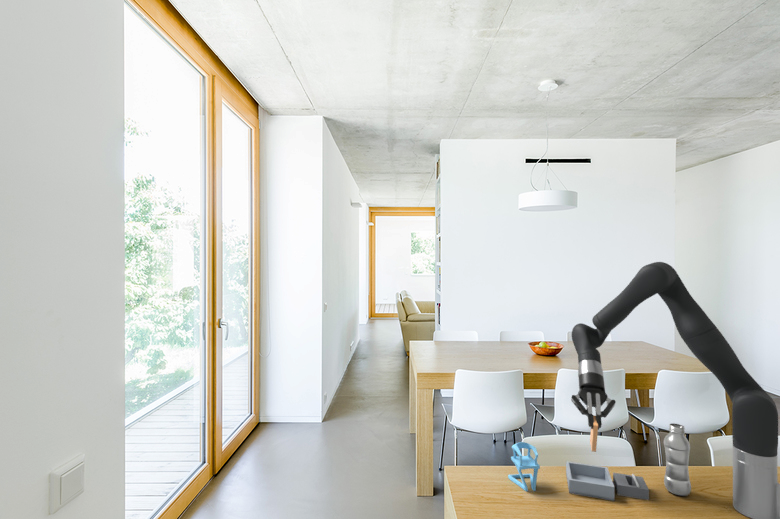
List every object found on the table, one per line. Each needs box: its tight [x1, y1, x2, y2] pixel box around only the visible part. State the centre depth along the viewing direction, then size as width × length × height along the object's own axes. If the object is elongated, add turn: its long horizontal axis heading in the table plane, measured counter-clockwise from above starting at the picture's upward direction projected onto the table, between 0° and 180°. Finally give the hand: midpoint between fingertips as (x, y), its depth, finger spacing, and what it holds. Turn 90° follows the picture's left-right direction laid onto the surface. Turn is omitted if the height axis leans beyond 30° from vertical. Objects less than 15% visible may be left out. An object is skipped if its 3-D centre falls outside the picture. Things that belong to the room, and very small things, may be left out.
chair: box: [507, 441, 541, 492], centre depth 126 cm, size 8×8×12 cm
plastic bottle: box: [663, 422, 692, 497], centre depth 122 cm, size 6×7×20 cm
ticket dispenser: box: [612, 472, 650, 501], centre depth 123 cm, size 8×8×4 cm
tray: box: [565, 460, 615, 502], centre depth 125 cm, size 12×12×4 cm
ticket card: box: [589, 414, 599, 453], centre depth 127 cm, size 1×4×10 cm, turn 161°
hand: (595, 428), depth 124 cm, fingers closed on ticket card, 1 cm apart
